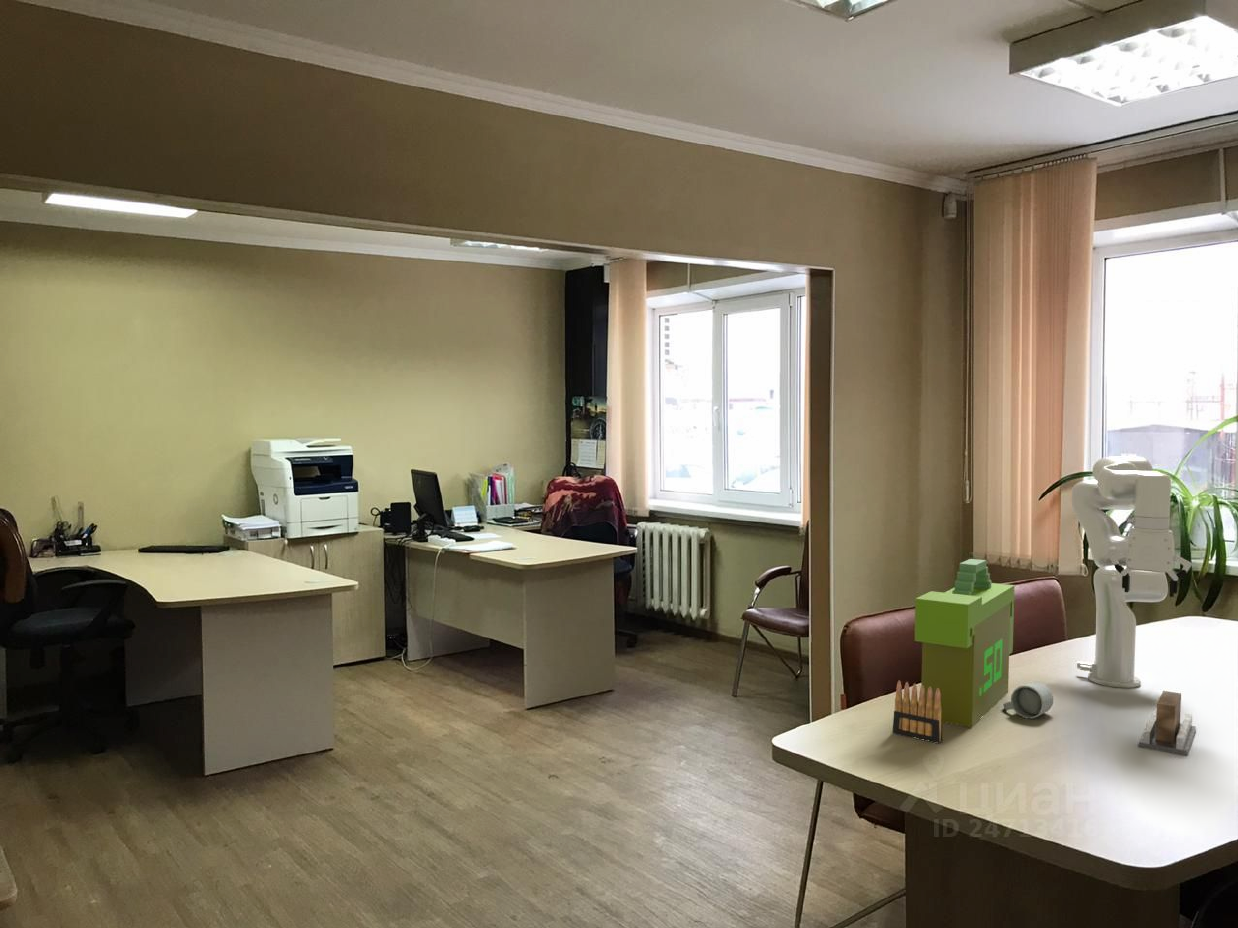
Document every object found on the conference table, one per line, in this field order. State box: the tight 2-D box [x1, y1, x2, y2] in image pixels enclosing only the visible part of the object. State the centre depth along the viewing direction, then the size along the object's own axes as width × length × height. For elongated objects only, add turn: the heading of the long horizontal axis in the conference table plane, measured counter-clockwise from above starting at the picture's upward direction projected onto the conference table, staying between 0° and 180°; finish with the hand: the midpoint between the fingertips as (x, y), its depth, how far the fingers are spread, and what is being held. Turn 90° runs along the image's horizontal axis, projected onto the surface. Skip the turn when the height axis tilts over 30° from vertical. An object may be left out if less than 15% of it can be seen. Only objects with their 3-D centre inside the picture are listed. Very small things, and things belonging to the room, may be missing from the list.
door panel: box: [1155, 690, 1182, 743], centre depth 209 cm, size 4×12×8 cm, turn 144°
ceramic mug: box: [1003, 682, 1055, 720], centre depth 227 cm, size 11×8×8 cm
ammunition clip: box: [892, 679, 943, 744], centre depth 209 cm, size 11×2×12 cm, turn 50°
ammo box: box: [914, 558, 1015, 728], centre depth 232 cm, size 45×12×35 cm, turn 145°
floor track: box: [1138, 708, 1197, 756], centre depth 209 cm, size 9×20×4 cm, turn 144°
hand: (1149, 593), depth 230 cm, fingers open, 9 cm apart
